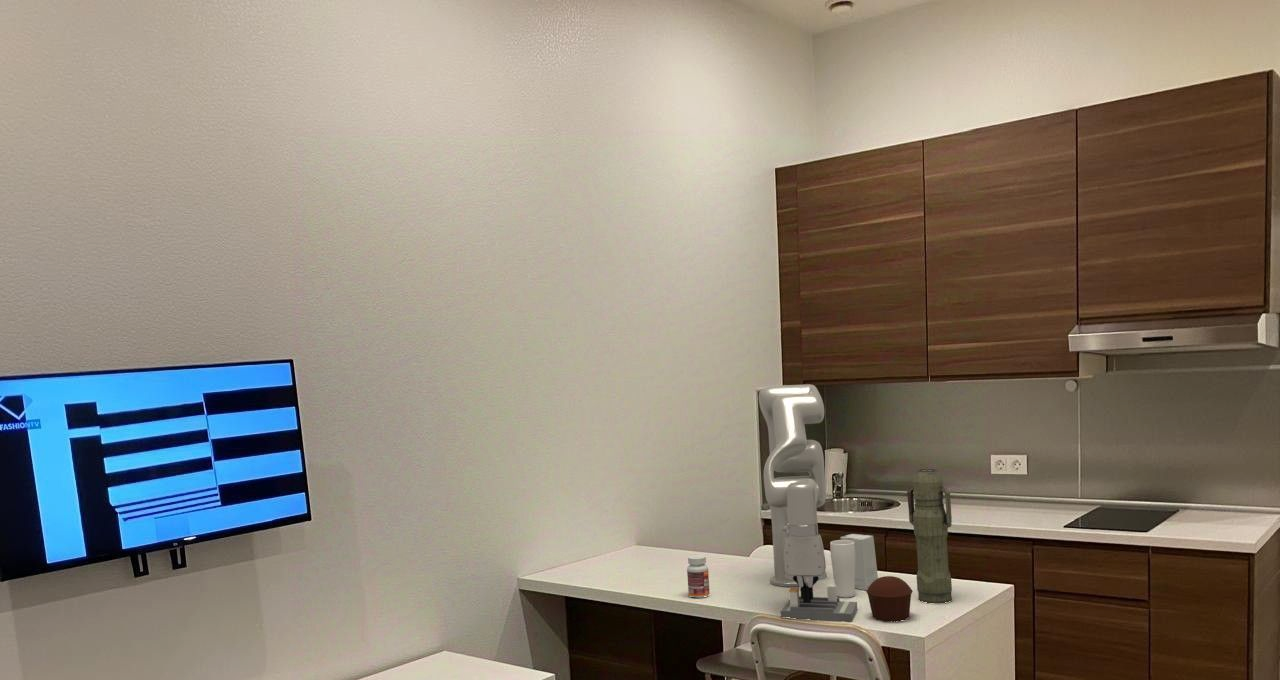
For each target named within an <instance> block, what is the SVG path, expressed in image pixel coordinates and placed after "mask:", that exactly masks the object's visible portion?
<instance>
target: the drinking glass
mask: <svg viewBox="0 0 1280 680" xmlns="http://www.w3.org/2000/svg"><path fill="white" fill-rule="evenodd" d="M829 544H830V547H829V549H830V560H831V567H832V573H833V582H834V585H836V591H837V598H842V597H843V599H845V598H847V599H848V598H852V597H854V596H855V595H856V590H855V589H856V588H855V545H854V542H853V541H850V540H841V539H838V540H836V539H835V540H832V541H830V542H829Z"/></svg>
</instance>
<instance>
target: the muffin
mask: <svg viewBox="0 0 1280 680" xmlns="http://www.w3.org/2000/svg"><path fill="white" fill-rule="evenodd" d="M865 591H866V594H867V597H868V602H869V606H870V611H871V615H872V618H874V619H875V620H876V621H879V622H883V623H897V622H896V621H899V622H902V621H901V620H906V619H907V618H908V617H909V618H910V610H911V602H912V601H911V600H912V593H913V590H912V587H911V586H910V585H909V584H908V583H907V582H906V581H905V580H903V579H902V578H900V577H897V576H892V575H887V576H881V577H878V579H876V580H875V581H874V582H872V583H871V585H870V586H869V588H868V589H867V590H865ZM909 618H908V619H909ZM908 619H907V620H908ZM907 620H906V621H907ZM891 621H892V622H891ZM894 621H895V622H894Z"/></svg>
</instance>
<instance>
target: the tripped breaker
mask: <svg viewBox="0 0 1280 680" xmlns="http://www.w3.org/2000/svg"><path fill="white" fill-rule="evenodd" d="M788 593H789V599H790V607H800V603H799V596H800V587H790V588H789V590H788Z"/></svg>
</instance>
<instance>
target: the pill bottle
mask: <svg viewBox="0 0 1280 680" xmlns="http://www.w3.org/2000/svg"><path fill="white" fill-rule="evenodd" d="M687 559H688V562H687V563H688V564H689V565H688V566H687V567H686V572H687V590H688V592H687V593H688V596H691V597H704V596H708V595H709V594H710V593H711V592H710V579H709V577H710V576H709V567H708V565H706V563H707V558H706V556H705V555H703V554H701V555H700V554H695V555H693V554H692V555H690V556H687ZM709 596H710V595H709ZM709 596H708V597H709ZM691 597H690V598H691Z"/></svg>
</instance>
